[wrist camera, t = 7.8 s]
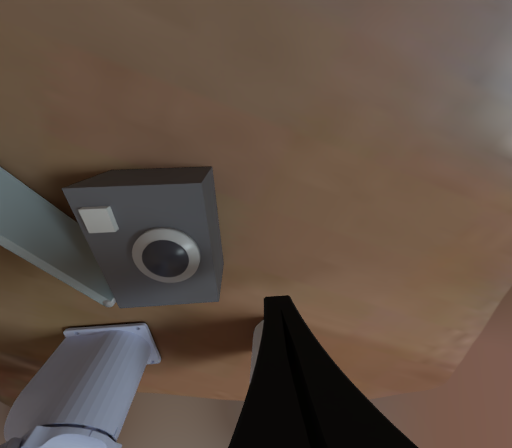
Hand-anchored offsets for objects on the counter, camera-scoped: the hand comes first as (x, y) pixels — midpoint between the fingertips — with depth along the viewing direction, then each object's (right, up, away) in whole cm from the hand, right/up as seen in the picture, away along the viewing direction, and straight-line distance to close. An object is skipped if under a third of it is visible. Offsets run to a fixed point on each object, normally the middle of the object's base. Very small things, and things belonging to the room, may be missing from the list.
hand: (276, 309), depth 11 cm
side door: (-18, +5, +6) cm, 19 cm away
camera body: (-9, +5, +7) cm, 12 cm away
